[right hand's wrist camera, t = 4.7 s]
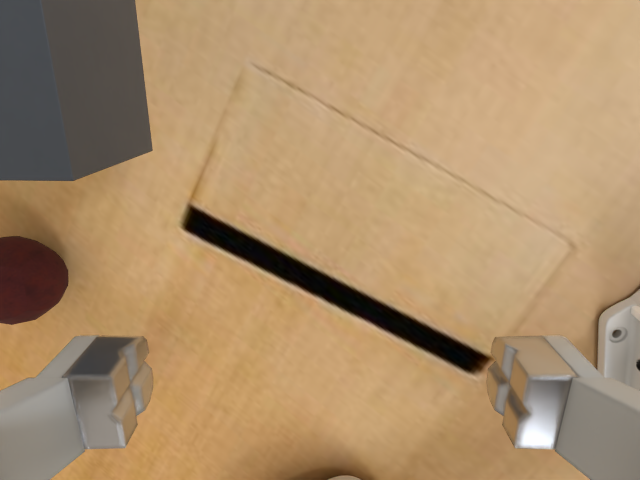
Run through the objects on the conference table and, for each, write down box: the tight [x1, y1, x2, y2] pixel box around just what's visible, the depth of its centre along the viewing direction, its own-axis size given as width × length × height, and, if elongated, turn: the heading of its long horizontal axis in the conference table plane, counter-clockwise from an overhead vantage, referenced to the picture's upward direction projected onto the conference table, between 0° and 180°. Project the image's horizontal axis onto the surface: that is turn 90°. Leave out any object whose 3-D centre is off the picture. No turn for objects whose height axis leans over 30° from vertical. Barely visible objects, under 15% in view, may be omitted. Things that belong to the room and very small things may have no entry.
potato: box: [0, 236, 68, 325], centre depth 36 cm, size 7×8×7 cm
